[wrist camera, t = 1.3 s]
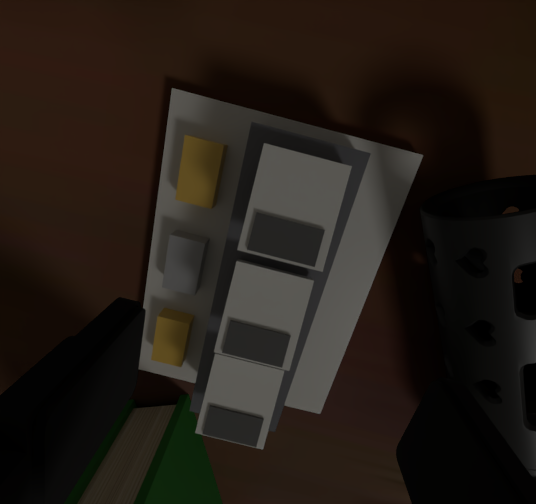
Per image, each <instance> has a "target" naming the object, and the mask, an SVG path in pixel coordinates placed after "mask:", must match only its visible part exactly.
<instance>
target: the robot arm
mask: <svg viewBox="0 0 536 504" xmlns="http://www.w3.org/2000/svg"><path fill="white" fill-rule="evenodd" d="M145 314H146V310H145V309H144V308H141V305H140V302H137V301H133V300H129V299H125V298H121V297H119V298H117V299H116V300H115V301H114V302H113V303H112V304H110V305H109V306H108V307H107V308H106V309H105V310H104V311H103V312H101V313H100V314H99V315H98V316H97V317H96V318H95V319H94V320H93V321H91V322H90V323H89V324H88V325H87V326H86V327H85V328H84V329H83V330H81V331H80V332H79V333H78V334H77V335H76V336H70V337H68V338H66V339H65V340H63V341H62V342H61V343H60V344H59V345H58V346H56V347H55V348H54V349H53V350H52V351H51V352H49V353H48V354H47V355H46V356H45V357H44V358H43V359H41V360H40V361H39V362H38V363H37V364H36V365H35V366H33V367H32V368H31V369H30V370H29V371H28V372H26V373H25V374H24V375H23V376H22V377H21V378H20V379H18V380H17V381H16V382H15V383H14V384H13V385H12V386H10V387H9V388H8V389H7V390H6V391H5V392H4V393H2V394H1V395H0V504H64V503H65V501H66V499H67V498H68V496H69V495H70V493H71V491H72V490H73V488H74V487H75V485H76V483H77V482H78V480H79V479H80V477H81V475H82V474H83V472H84V471H85V469H86V468H87V466H88V464H89V463H90V461H91V460H92V458H93V456H94V455H95V453H96V452H97V450H98V448H99V447H100V445H101V444H102V442H103V440H104V439H105V437H106V436H107V434H108V432H109V431H110V429H111V428H112V426H113V424H114V423H115V421H116V420H117V418H118V416H119V415H120V413H121V412H122V410H123V408H124V407H125V405H126V404H127V402H128V400H129V399H130V397H131V396H132V394H133V392H134V389H135V387H136V383H137V376H138V368H139V361H140V353H141V345H142V338H143V330H144V322H145ZM396 456H397V461H398V464H399V467H400V470H401V473H402V476H403V479H404V482H405V485H406V487H407V490H408V493H409V496H410V499H411V502H412V504H536V482H535V480H534V479H533V477H532V476H531V475H530V473H529V472H528V471H527V469H526V468H525V466H524V465H523V464H522V462H521V461H520V460H519V458H518V457H517V456H516V454H515V453H514V451H513V450H512V449H511V447H510V446H509V445H508V443H507V442H506V440H505V439H504V438H503V436H502V435H501V434H500V432H499V431H498V429H497V428H496V427H495V425H494V424H493V423H492V421H491V420H490V418H489V417H488V416H487V414H486V413H485V412H484V410H483V409H482V407H481V406H480V405H479V403H478V402H477V401H476V399H475V398H474V396H473V395H472V394H471V392H470V391H469V390H468V388H467V387H466V386H465V385H464V384H463V383H462V382H459V381H455V380H451V379H447V378H443V377H442V378H438V379H437V380H436V381H433V382H431V383H430V385H429V387H428V389H427V391H426V392H425V394H424V396H423V398H422V400H421V402H420V404H419V406H418V408H417V410H416V411H415V413H414V415H413V417H412V419H411V421H410V423H409V425H408V427H407V428H406V430H405V432H404V434H403V436H402V438H401V440H400V442H399V444H398V446H397V450H396Z"/></svg>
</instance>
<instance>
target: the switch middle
mask: <svg viewBox="0 0 536 504" xmlns="http://www.w3.org/2000/svg"><path fill="white" fill-rule="evenodd" d="M313 283H314V280H313V279H312V278H310V277H307V276H303V275H299V274H295V273H291V272H287V271H283V270H279V269H275V268H272V267H268V266H264V265H260V264H256V263H252V262H248V261H244V260H240V259H238V260H237V261H236V265H235V269H234V273H233V277H232V281H231V285H230V289H229V293H228V297H227V301H226V305H225V309H224V313H223V317H222V321H221V325H220V329H219V333H218V337H217V341H216V345H215V349H214V352H215V353H219V354H223V355H227V356H231V357H235V358H239V359H243V360H247V361H251V362H255V363H259V364H263V365H267V366H271V367H275V368H279V369H283V370H287V371H289V370H290V367H291V363H292V359H293V356H294V352H295V349H296V345H297V341H298V338H299V334H300V330H301V327H302V323H303V320H304V316H305V312H306V309H307V305H308V301H309V298H310V294H311V291H312V287H313Z"/></svg>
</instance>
